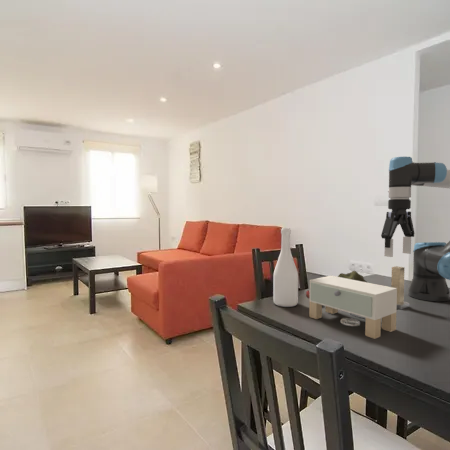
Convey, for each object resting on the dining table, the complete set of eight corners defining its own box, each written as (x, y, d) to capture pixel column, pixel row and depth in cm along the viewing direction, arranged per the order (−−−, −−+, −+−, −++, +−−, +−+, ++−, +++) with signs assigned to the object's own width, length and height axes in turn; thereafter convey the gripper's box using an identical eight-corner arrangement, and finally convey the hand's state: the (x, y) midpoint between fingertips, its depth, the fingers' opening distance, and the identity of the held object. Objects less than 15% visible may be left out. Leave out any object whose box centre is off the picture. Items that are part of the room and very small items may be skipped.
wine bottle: (282, 308, 125) (282, 229, 123) (268, 302, 134) (268, 227, 132) (302, 305, 129) (303, 228, 127) (288, 299, 137) (289, 227, 136)
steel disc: (355, 320, 112) (355, 317, 112) (363, 327, 106) (363, 324, 106) (337, 321, 112) (337, 318, 112) (344, 327, 106) (344, 324, 106)
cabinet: (330, 310, 123) (331, 275, 122) (396, 329, 103) (396, 288, 102) (306, 317, 115) (306, 280, 114) (371, 340, 95) (372, 295, 94)
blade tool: (388, 301, 133) (389, 264, 132) (414, 307, 125) (415, 268, 124) (350, 314, 118) (350, 272, 117) (377, 322, 110) (378, 277, 109)
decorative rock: (380, 299, 142) (383, 276, 141) (351, 301, 136) (355, 277, 135) (354, 288, 156) (357, 267, 154) (327, 289, 150) (330, 267, 148)
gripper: (405, 199, 135) (404, 251, 136) (371, 198, 121) (370, 256, 122) (425, 199, 129) (423, 253, 130) (392, 198, 115) (390, 259, 116)
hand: (397, 255), depth 126 cm, fingers open, 13 cm apart
